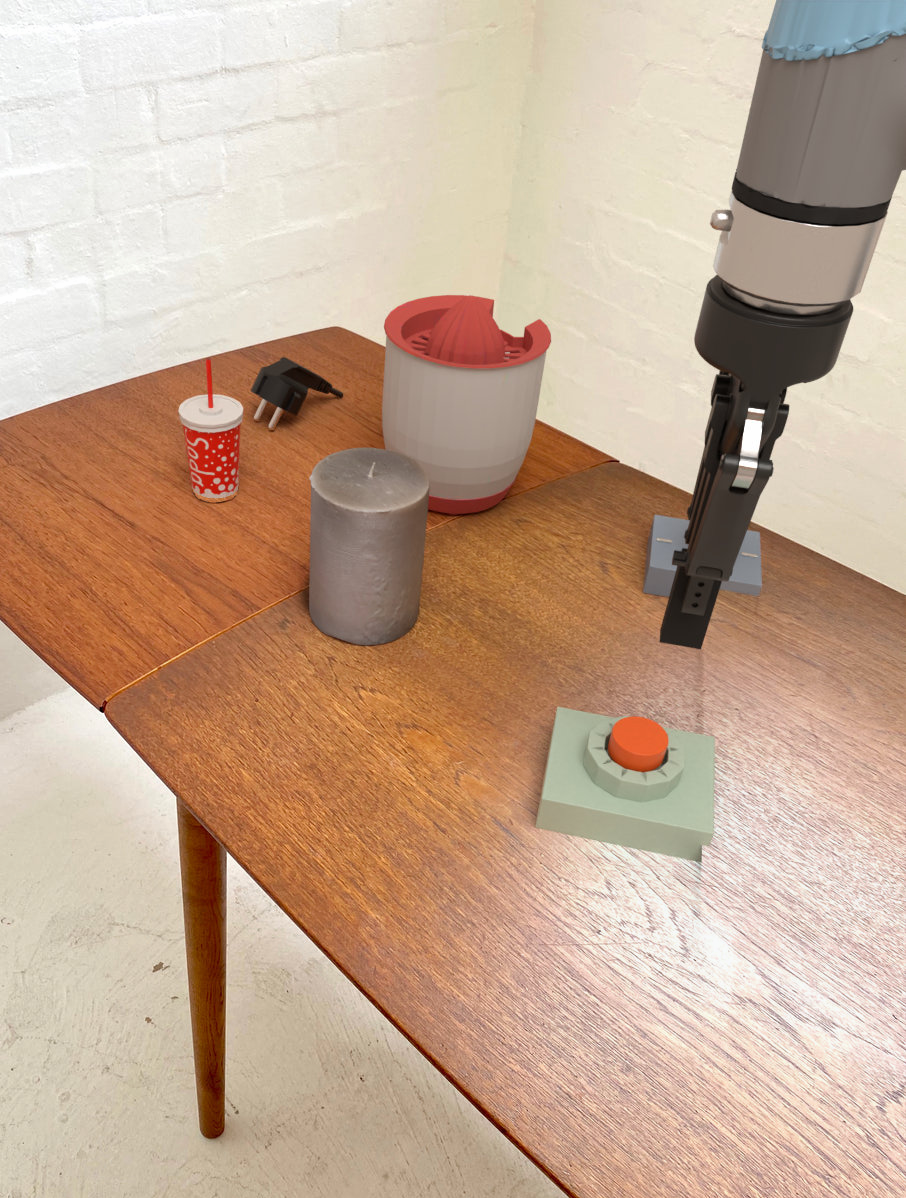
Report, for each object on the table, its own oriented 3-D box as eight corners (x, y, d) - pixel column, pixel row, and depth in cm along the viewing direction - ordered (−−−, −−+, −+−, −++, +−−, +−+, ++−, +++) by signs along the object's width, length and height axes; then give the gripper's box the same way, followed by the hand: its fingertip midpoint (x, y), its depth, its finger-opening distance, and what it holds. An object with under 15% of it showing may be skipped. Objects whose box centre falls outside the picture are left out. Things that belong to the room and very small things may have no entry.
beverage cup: (174, 484, 112) (163, 352, 102) (228, 469, 115) (222, 339, 105) (201, 513, 108) (192, 379, 99) (257, 497, 111) (253, 365, 101)
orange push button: (664, 739, 81) (669, 722, 80) (662, 777, 78) (667, 760, 77) (609, 728, 82) (614, 711, 80) (605, 766, 79) (610, 748, 78)
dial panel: (751, 557, 108) (760, 529, 105) (752, 613, 101) (762, 584, 99) (647, 539, 109) (654, 512, 107) (642, 593, 102) (649, 565, 100)
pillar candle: (395, 572, 103) (406, 425, 93) (434, 636, 96) (451, 485, 86) (294, 589, 100) (294, 440, 90) (327, 656, 93) (331, 503, 83)
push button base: (704, 766, 86) (721, 719, 82) (702, 863, 78) (720, 816, 75) (550, 735, 87) (561, 688, 84) (534, 828, 80) (545, 780, 77)
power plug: (360, 397, 126) (293, 362, 116) (330, 458, 128) (261, 428, 118) (328, 379, 129) (260, 343, 119) (298, 438, 131) (229, 408, 121)
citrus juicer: (567, 484, 116) (602, 296, 102) (457, 547, 106) (480, 348, 93) (455, 428, 123) (474, 246, 110) (343, 482, 114) (350, 289, 100)
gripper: (710, 234, 63) (629, 574, 79) (707, 326, 53) (616, 691, 69) (846, 250, 62) (737, 591, 78) (868, 348, 52) (739, 714, 68)
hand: (680, 638), depth 73 cm, fingers closed
